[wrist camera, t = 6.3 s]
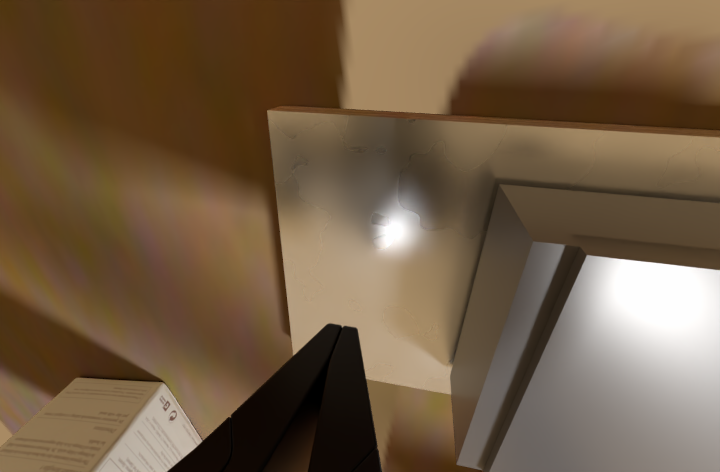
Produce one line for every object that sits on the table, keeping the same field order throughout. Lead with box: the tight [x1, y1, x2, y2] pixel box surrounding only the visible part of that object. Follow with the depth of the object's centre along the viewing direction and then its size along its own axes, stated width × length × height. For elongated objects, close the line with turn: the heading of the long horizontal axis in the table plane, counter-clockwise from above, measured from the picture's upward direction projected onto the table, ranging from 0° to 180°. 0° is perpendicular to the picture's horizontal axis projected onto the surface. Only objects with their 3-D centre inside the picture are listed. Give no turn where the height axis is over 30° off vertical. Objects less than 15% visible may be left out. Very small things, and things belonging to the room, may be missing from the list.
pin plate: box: [267, 105, 720, 394], centre depth 9 cm, size 11×26×6 cm, turn 89°
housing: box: [450, 184, 720, 472], centre depth 8 cm, size 8×8×4 cm
